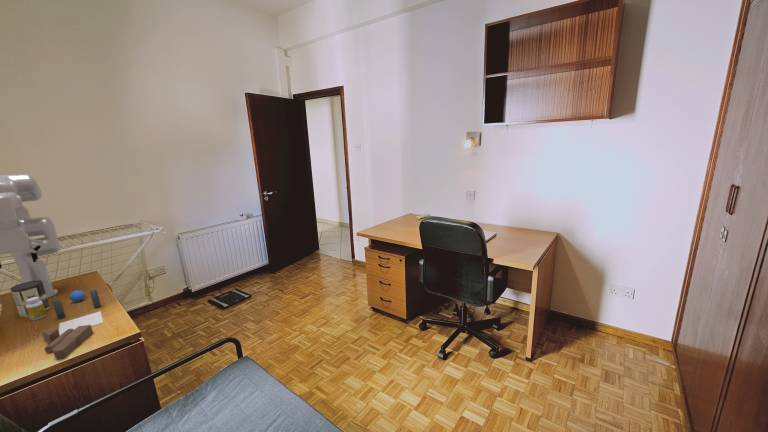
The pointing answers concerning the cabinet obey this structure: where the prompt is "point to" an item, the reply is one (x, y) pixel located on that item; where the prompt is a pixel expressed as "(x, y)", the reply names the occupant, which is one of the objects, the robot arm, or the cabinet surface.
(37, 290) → the coffee can
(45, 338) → the wooden block set
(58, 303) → the post
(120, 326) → the cabinet surface
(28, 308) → the supplement bottle
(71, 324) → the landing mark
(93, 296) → the post
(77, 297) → the ball
